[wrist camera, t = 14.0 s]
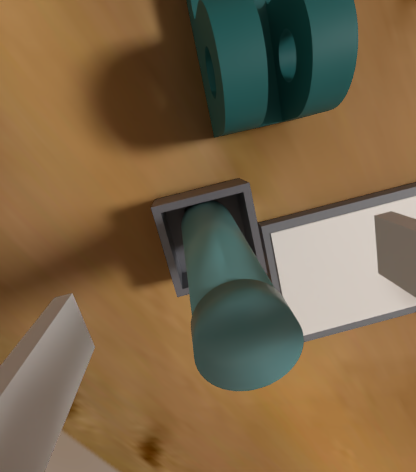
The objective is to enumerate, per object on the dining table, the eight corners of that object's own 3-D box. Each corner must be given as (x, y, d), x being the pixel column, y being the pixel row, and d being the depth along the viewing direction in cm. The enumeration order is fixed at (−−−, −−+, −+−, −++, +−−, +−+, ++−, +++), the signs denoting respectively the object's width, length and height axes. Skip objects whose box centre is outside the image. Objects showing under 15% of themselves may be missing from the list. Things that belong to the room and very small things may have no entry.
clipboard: (257, 223, 25) (263, 228, 23) (436, 176, 25) (455, 178, 23) (280, 339, 28) (287, 351, 26) (439, 296, 28) (456, 306, 26)
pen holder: (154, 199, 23) (150, 207, 20) (239, 178, 24) (249, 182, 20) (177, 277, 25) (177, 297, 22) (255, 257, 25) (267, 273, 22)
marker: (173, 197, 22) (183, 318, 10) (224, 186, 23) (300, 291, 10) (184, 243, 24) (205, 401, 11) (232, 233, 24) (306, 377, 11)
